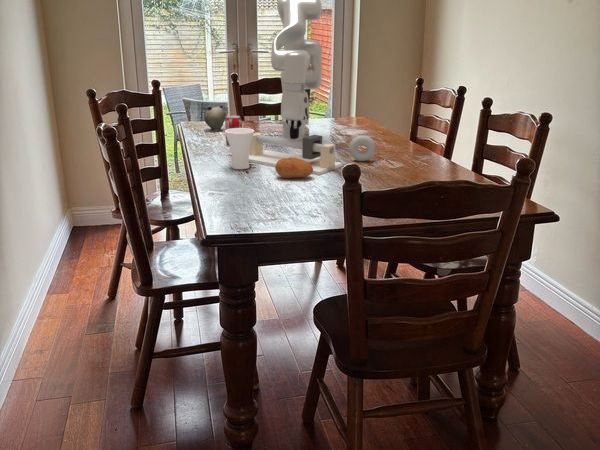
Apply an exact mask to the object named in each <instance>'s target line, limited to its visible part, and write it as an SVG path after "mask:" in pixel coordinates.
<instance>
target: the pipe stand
mask: <svg viewBox="0 0 600 450" xmlns="http://www.w3.org/2000/svg"><path fill="white" fill-rule="evenodd" d="M264 144H268V145H272V146H278V147H284V148H290V149H291V148H292V149H296V150H302V151H303V141H298V140H291V139H285V138H279V137H276V136H270V135H264V133H260V132H254V134H253V137H252V141H251V145H250V150H249V163H253V164H256V165H257V164H258V165H262V166H263V165H264V166H268V167H272V168H276V167H275V166H276V164H277V162H278V161H279V160H281V159H283V158H290V157H295V158H298V159H301V160H304V161H307V162H308V163H310V165H311V166H312V168H313V172H312V174H311V175H316V176H321V175H324V174H325V173H328V172H331V171H333V170H336V169H338V168H342V167H343V164H344V163H343V162H339V161H336V144H333V143H325V144H323V143H322V144H317V143H314V142H313V151H314V152H320V153H321V156H320V158H318V157H317V158H314V159H311V160H310V159H304V158H302V155H298V154H294V153H293V154H292V153H287V152H280V151H274V150H269V149H264Z"/></svg>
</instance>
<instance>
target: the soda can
mask: <svg viewBox="0 0 600 450" xmlns="http://www.w3.org/2000/svg"><path fill="white" fill-rule="evenodd" d="M224 123H225V126H224V127H225V130H227V129H231V128H243V122H242V118H241V116H240V115H235V114H234V115H233V114H231V115H226V118H225V120H224ZM225 142H226V145H228V146H230V145H229V142H228V139H227V136H226V135H225Z"/></svg>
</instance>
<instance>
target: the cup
mask: <svg viewBox="0 0 600 450" xmlns="http://www.w3.org/2000/svg"><path fill="white" fill-rule="evenodd" d="M224 132H225V137H226V136H227V139H228V142H229V145H228V146H229V148H230V152H231V160H232V161H231V169H234V170H247V169H249V168H250V162H249V150H250V145H251V141H252V137H253V134H254V133H255V129H252V128H247V127H242V128H231V129H227V130H225V131H224Z"/></svg>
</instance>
